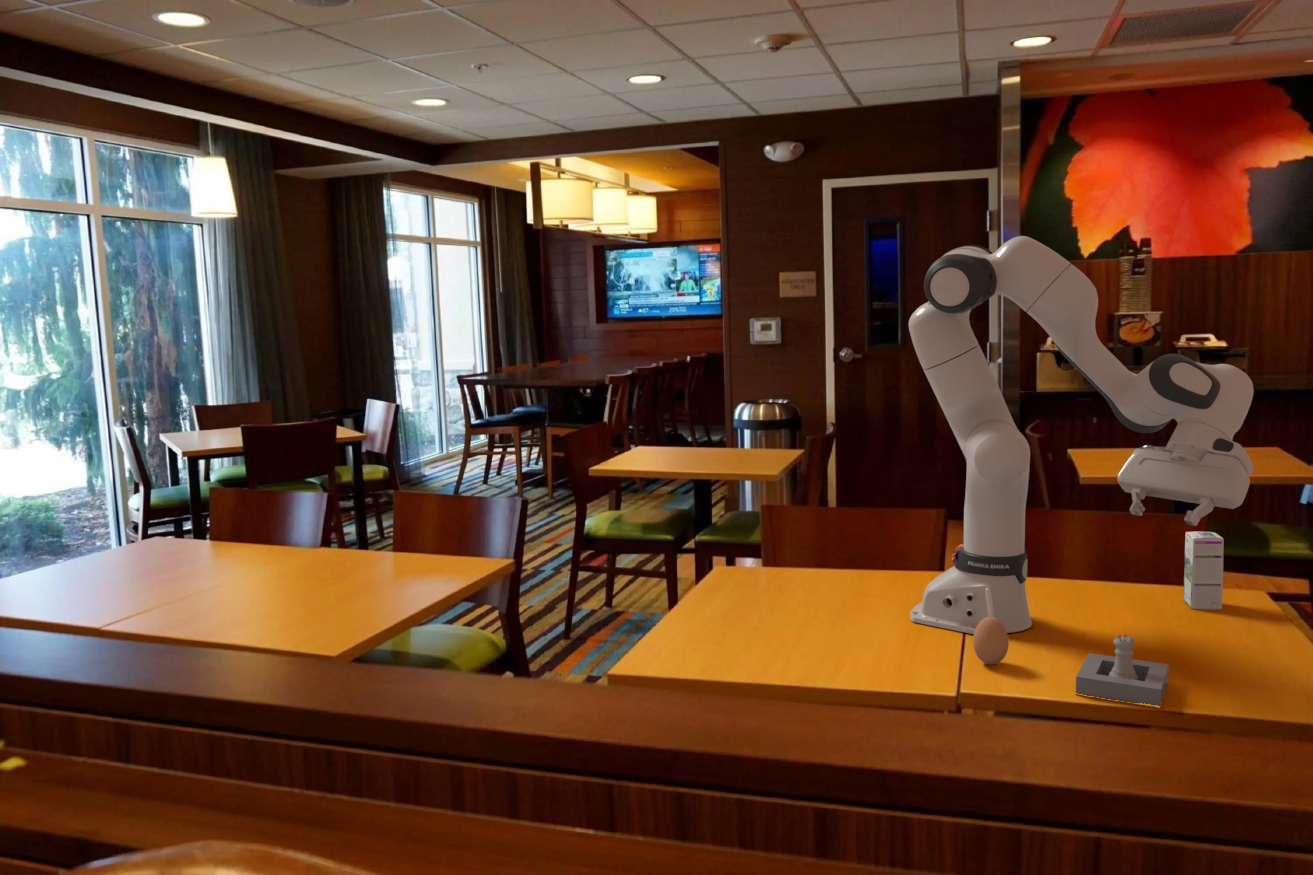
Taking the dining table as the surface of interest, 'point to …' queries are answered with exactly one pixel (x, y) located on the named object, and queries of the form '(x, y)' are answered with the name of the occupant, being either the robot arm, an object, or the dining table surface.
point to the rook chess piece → (1124, 658)
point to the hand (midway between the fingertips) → (1161, 518)
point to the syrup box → (1203, 570)
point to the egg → (990, 641)
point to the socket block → (1122, 680)
